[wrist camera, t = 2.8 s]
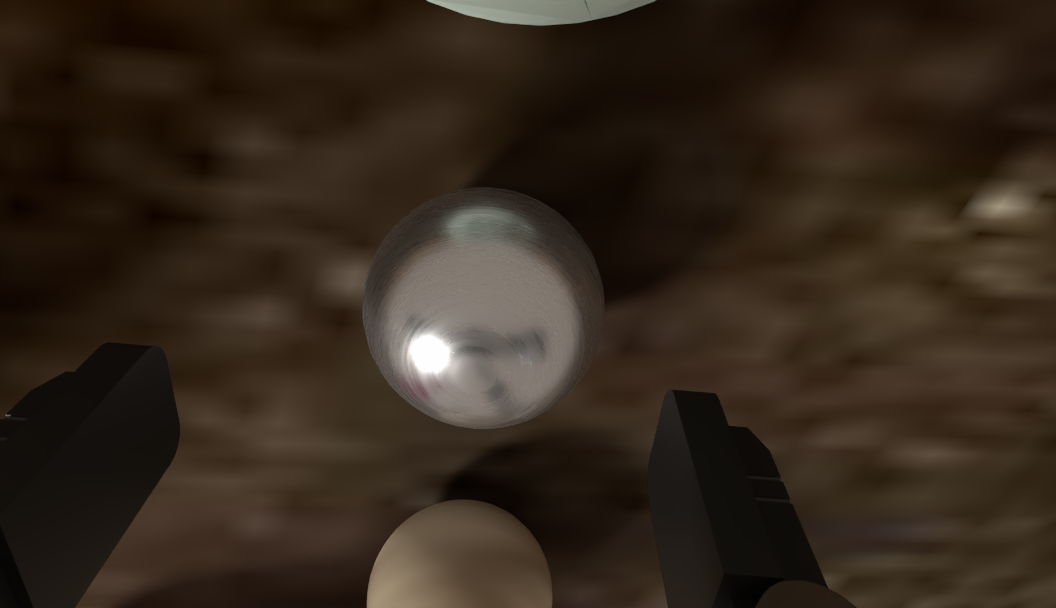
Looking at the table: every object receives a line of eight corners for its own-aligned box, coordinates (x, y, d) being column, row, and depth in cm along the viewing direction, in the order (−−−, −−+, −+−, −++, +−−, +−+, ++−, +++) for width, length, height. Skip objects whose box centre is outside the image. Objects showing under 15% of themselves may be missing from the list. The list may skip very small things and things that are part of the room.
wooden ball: (585, 515, 21) (596, 674, 16) (488, 601, 23) (474, 763, 18) (447, 434, 19) (418, 583, 15) (357, 533, 21) (308, 691, 17)
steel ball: (640, 240, 16) (673, 356, 12) (514, 377, 18) (503, 519, 14) (467, 110, 15) (434, 188, 11) (350, 273, 17) (282, 395, 13)
